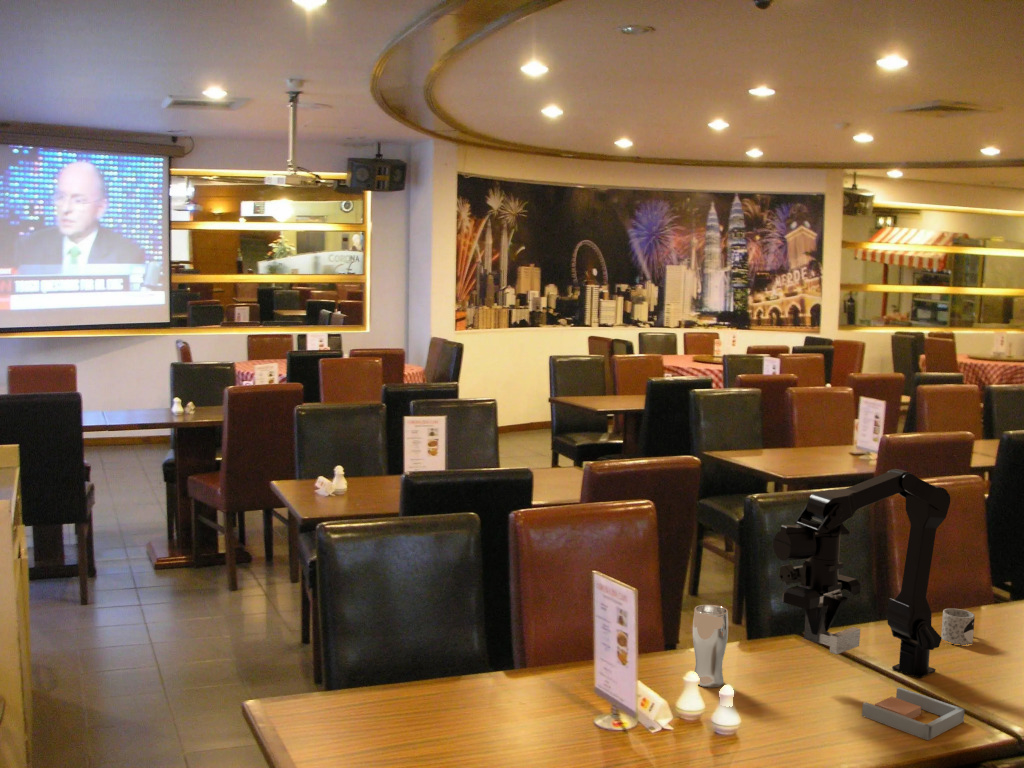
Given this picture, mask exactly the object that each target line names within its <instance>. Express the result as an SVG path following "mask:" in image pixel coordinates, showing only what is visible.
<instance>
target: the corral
mask: <svg viewBox="0 0 1024 768" xmlns="http://www.w3.org/2000/svg"><path fill="white" fill-rule="evenodd" d="M895 694H896V695H895V696H896V697H895V698H898V699H900V700H903V701H906V702H909V703H912V704H915V705H917V706H920V707H921V711H922V710H923V711H926V712H929V713H931V714H934V715H936V716H940V717H937V718H935V719H934V720H932V721H930V722H928V723H924V722H921V721H919V720H916V719H915V718H913V719H911V718H908V717H905V716H903V715H900V714H897V713H894V712H892V711H889V710H886V709H883V708H881V707H878V706H875V704H872V703H869V702H866V701H865V702H863V703H862V713H861V714H862V715H861V716H862V717H864V716H865V718H866V719H869V720H872V721H875V722H878V723H881V724H882V725H886V726H888V727H891V728H894V729H896V730H899V731H902V732H904V733H907V734H910V735H913V736H914V737H917V738H920V739H923V740H926V741H930V740H932V739H934V738H936V737H937V736H939V735H942V734H943V733H945V732H947V731H949V730H952V729H953V728H955V727H956V726H959V725H960V724H962V723H964V722H965V710H966V709H965V708H963V707H960V706H956V705H954V704H953V705H952V704H950V703H947V702H944V701H941V700H938V699H936V698H932V697H930V696H927V695H924V694H920V693H917V692H915V691H912V690H909V689H905V688H903V687H897V688H896V693H895Z"/></svg>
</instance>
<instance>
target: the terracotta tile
mask: <svg viewBox="0 0 1024 768" xmlns="http://www.w3.org/2000/svg"><path fill="white" fill-rule="evenodd" d="M874 705H875V706H878V707H881V708H883V709H886V710H889V711H892V712H894V713H897V714H900V715H903V716H905V717H908V718H911V719H915V718H917V717H919V716H921V714H922V712H921V711H922V709H921V707H920V706H917V705H915V704H912V703H909V702H906V701H903V700H900V699H898V698H896V697H894V696H889V697H887V698H885V699H883V700H881V701H879V702H875V704H874Z"/></svg>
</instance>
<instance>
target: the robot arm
mask: <svg viewBox="0 0 1024 768" xmlns="http://www.w3.org/2000/svg"><path fill="white" fill-rule="evenodd" d="M895 495H900V496H901V497H902V498H904V499H905V512H906V515H907V517H908V520H909V523H910V528H909V529H910V530H909V534H908V542H907V549H906V554H905V561H904V562H905V563H904V568H903V574H902V581H901V582H902V583H901V589H900V591H899V593H898V594H897V595H896V597H895V598H891V597H890V598H889V599H888V601H887V611H886V614H885V615H884V616H885V618H887V620H886V621H887V625H888V626H889V628H890V629H891V634H892V637H894V638H896V639H898V640H900V646H899V647H900V648H899V661H898V663H897V664H895V665H892V666H891V667H892V668H891V669H892V670H894V671H898V672H901V673H903V674H906V675H909V676H912V677H916V678H919V679H921V678H924V677H926V676H929V675H930V674H933V673H935V672H936V668H934V667H931V666H930V654H931V653H930V652H931V651H933V650H935V649H936V648H937V649H938V648H939V647H940V645H941V641H942V640H941V639H942V638H941V635H940V634H939V633H938V632H937V631H936V630H935V628H934V627H933V626H932V615H933V613H932V610H931V607H930V604H929V601H928V598H927V594H928V587H929V580H930V573H931V568H932V560H933V553H934V546H935V541H936V540H935V539H936V532H937V529H938V528H939V527H940V526H941V524H942V523H943V522H944V521H945V520H946V519H947V515H948V511H949V508H950V504H951V494H950V493H949V492H948V490H947V489H946V488H945V487H942V486H937V485H934V484H930V483H929V482H927V481H924V480H923V479H921V478H919V477H917V476H916V475H915V474H913V473H912V472H910V471H906V470H903V469H898V468H892V469H890V470H888V471H887V472H885V473H883V474H880V475H878V476H875V477H872V478H869V479H867V480H865V481H862V482H860V483H857V484H855V485H851V486H849V487H847V488H842V489H827V490H826V489H825V490H819V491H816V492H813V493H812V494H811V495H810V496H809V497H808V500H807V503H806V504H805V506H804V507H803V509H802V510H801V512H800V513H799V515H798V516H797V518H796V519H795V521H794V525H793V524H792V525H789V524H782V525H780V530H779V531H778V532H777V533H776V534H775V536H774V538H773V542H772V546H773V551H774V554H775V555H776V557H777V558H778V560H779V561H795V560H804V561H803V562H802V565H797V566H796V565H795V566H793V565H792V564H783V565H780V566H779V571H778V578H779V580H780V581H781V582H784V586H790V585H791V584H797V583H798V584H799V583H800V586H799V585H795V586H792V587H788V588H786V589H784V591H783V592H782V603H785V604H788V605H790V606H794V607H798V608H801V609H804V611H805V615H806V614H807V617H808V621H809V624H810V628H811V631H812V634H814V635H818V633H819V631H820V628H821V625H822V623H823V620H824V617H825V614H826V611H827V625H826V631H827V632H829V629H830V628H831V626H832V624H833V623H834V621H835V619H836V618H837V616H838V615H839V613H840V611H841V609H842V608H843V606H844V605H845V604H846V602H848V600H849V597H847V596H843V592H842V591H843V590H845V591H847V592H848V593H849V595H850V596H855V595H860V594H861V583H860V582H859V580H858V579H857V578H854V577H850V576H847V575H843V574H839V570H840V569H844V562H841V561H840V550H841V549H840V547H841V546H840V545H841V536H845V535H850V534H851V531H850V529H848V528H847V527H846V526H845V525H844V523H845V522H846V521H848V520H850V519H852V518H853V516H854V515H855V513H856V512H857V511H858V510H861V509H862V508H865V507H868V506H870V505H873V504H875V503H878V502H880V501H882V500H883V501H884V500H885V499H887V498H890V497H892V496H895ZM812 519H813V520H812ZM819 522H820V523H819ZM806 587H807V588H806Z"/></svg>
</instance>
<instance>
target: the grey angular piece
mask: <svg viewBox="0 0 1024 768" xmlns="http://www.w3.org/2000/svg"><path fill="white" fill-rule="evenodd" d="M804 617H805V618H804V634H803V635H804V636H803V639H804V640H806V641H807V640H808V641H810V642H813V643H815V644H821V645H822V644H823V645H825V646H827V647H829V653H830V654H834V655H839V654H842V653H845V652H847V651H850V650H852V649H855V648H857V647H860V641H861V640H860V638H861V628H858V627H855V626H852V627H850V628H846V629H844V630H841V631H838V632H835V633H833V632H830V631H826V625H827V611H826V614H825V617H824V620H823V623H822V625H821V628H820V631H819V633H818V635H814V634H812V631H811V628H810V624H809V621H808V617H807V614H806V613H805V616H804Z"/></svg>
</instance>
